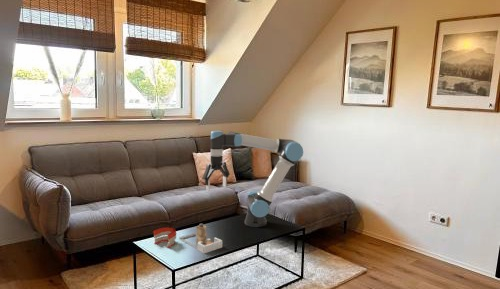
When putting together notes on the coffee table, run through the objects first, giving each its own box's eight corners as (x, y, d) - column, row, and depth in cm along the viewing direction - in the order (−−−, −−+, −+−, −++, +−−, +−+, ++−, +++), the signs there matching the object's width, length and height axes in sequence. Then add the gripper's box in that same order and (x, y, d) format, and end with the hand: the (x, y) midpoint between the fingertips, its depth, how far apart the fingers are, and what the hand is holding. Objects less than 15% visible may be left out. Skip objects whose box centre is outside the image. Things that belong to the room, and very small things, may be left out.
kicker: (204, 241, 221) (204, 221, 219) (210, 244, 217) (210, 224, 215) (193, 244, 215) (193, 224, 213) (199, 247, 211) (199, 227, 209)
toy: (181, 242, 218) (180, 229, 217) (169, 248, 209) (168, 235, 208) (165, 238, 225) (165, 225, 223) (152, 243, 216) (152, 230, 215)
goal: (215, 243, 217) (215, 237, 217) (222, 247, 213) (222, 240, 212) (197, 249, 208) (197, 243, 208) (204, 253, 204) (204, 246, 203)
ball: (214, 248, 210) (210, 246, 213) (214, 241, 210) (210, 240, 213) (209, 250, 208) (205, 248, 211) (209, 243, 207) (204, 241, 210)
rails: (194, 234, 231) (194, 232, 231) (214, 244, 217) (214, 242, 217) (179, 239, 223) (179, 237, 223) (198, 249, 209) (198, 247, 209)
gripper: (227, 152, 241) (227, 184, 244) (196, 156, 224) (196, 190, 227) (235, 154, 236) (234, 186, 239) (204, 158, 219) (204, 192, 221)
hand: (216, 188), depth 233 cm, fingers open, 13 cm apart
